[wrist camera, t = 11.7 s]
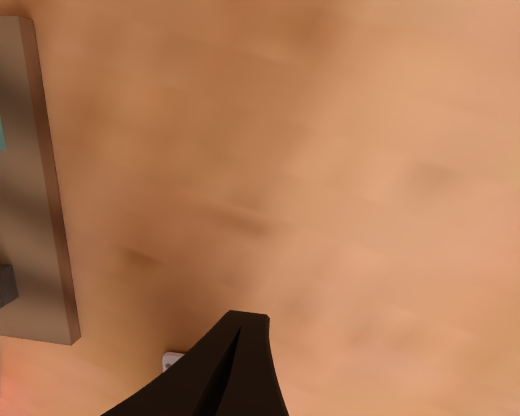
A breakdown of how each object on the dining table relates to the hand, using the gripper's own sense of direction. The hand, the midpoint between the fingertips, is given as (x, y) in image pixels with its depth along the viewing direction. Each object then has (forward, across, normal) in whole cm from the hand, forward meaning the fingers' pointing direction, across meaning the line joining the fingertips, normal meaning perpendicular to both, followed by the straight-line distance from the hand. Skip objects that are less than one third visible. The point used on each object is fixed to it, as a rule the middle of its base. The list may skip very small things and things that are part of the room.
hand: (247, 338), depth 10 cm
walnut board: (+10, +20, -1) cm, 22 cm away
